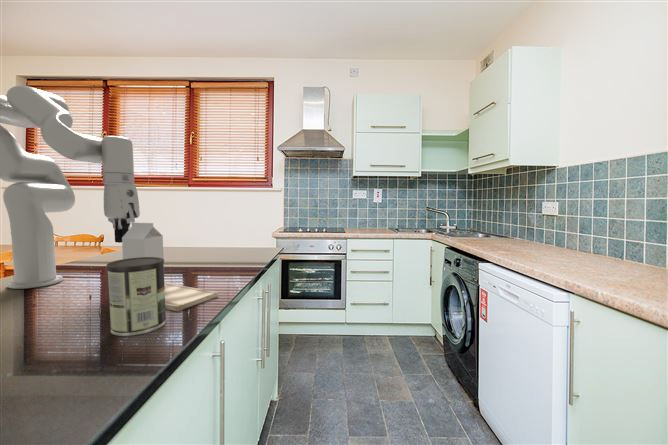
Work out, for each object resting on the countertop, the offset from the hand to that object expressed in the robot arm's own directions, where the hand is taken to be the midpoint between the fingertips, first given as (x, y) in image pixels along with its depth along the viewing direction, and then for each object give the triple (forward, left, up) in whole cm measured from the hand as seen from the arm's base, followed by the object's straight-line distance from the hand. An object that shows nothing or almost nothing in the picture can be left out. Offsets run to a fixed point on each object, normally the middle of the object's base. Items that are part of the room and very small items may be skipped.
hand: (122, 241), depth 94 cm
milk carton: (+10, 0, -13) cm, 16 cm away
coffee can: (+31, -16, -14) cm, 38 cm away
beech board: (+19, 0, -14) cm, 24 cm away
